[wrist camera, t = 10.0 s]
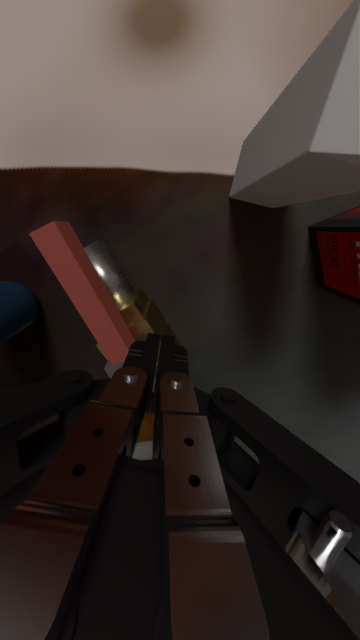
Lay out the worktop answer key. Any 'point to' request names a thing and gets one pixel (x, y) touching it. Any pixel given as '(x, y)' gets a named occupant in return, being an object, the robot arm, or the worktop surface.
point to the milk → (309, 128)
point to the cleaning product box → (338, 254)
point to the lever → (85, 290)
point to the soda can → (15, 309)
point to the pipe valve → (127, 297)
